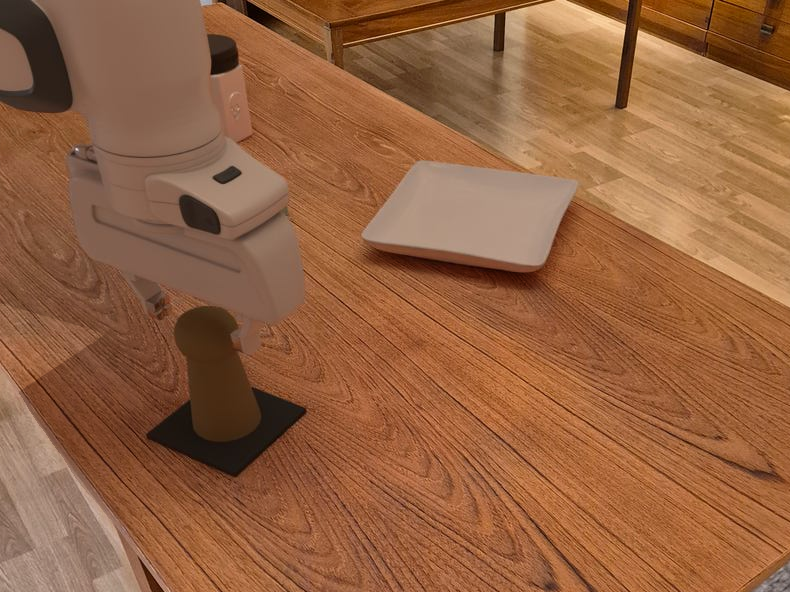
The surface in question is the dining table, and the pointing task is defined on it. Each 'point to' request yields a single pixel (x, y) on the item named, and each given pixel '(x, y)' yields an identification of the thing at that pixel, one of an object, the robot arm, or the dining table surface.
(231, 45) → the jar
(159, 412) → the dining table surface
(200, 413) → the brown pawn
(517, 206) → the plate
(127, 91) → the robot arm
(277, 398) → the mat
